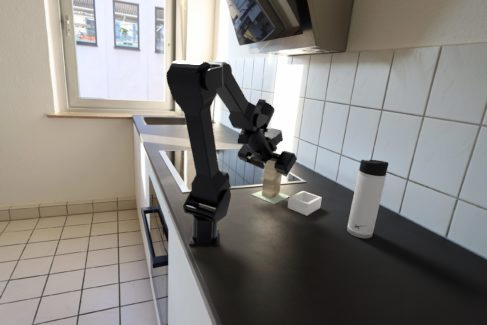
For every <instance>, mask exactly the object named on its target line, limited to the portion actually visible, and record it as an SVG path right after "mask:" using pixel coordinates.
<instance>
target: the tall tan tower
mask: <svg viewBox="0 0 487 325" xmlns="http://www.w3.org/2000/svg"><path fill="white" fill-rule="evenodd" d="M264 166H265V167H264V169H263V178H262V179H263V181H262V189H261V191H262V196H264V197H267V198H269V199H271V198H274V197H276V196H278V195H279V193H281V184H282V176H283V175H282V174H280V173H278V172H276V171H277V170H275V168H274V166H275V161H272V160H269V161H267V163H266V164H265V163H264Z"/></svg>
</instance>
